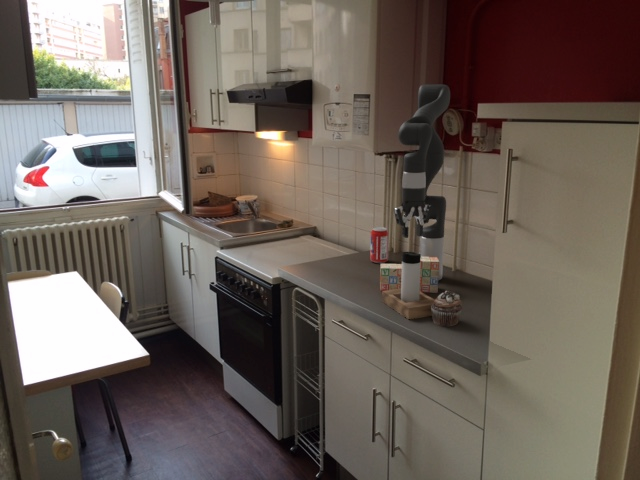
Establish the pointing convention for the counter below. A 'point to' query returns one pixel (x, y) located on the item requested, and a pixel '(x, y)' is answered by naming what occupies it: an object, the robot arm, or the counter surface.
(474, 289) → the counter surface
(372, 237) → the soda can
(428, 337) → the counter surface
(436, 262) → the stack of blocks
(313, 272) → the counter surface
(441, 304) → the cupcake
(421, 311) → the holder board
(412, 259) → the travel mug
